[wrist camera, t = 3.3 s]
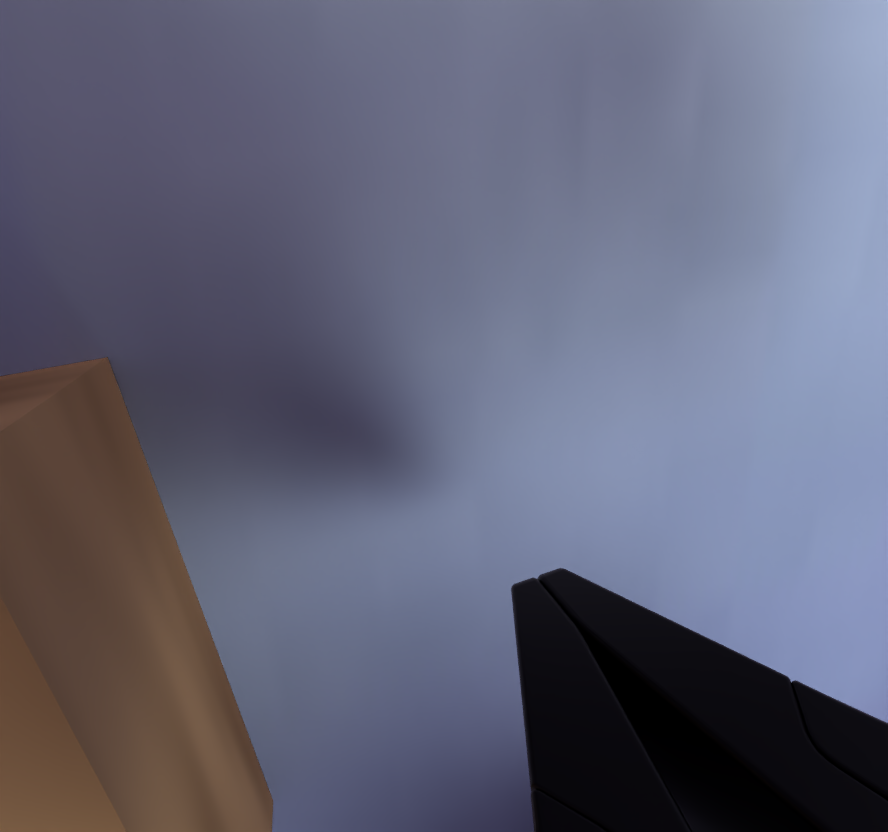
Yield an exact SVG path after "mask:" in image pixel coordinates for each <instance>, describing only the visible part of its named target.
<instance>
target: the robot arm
mask: <svg viewBox="0 0 888 832" xmlns="http://www.w3.org/2000/svg"><path fill="white" fill-rule="evenodd" d="M511 592H512V602H513V613H514V623H515V633H516V644H517V654H518V664H519V675H520V685H521V695H522V705H523V716H524V726H525V736H526V747H527V757H528V767H529V778H530V787H531V802H532V812H533V823H534V832H888V723H886V722H884V721H882V720H879V719H877V718H875V717H873V716H871V715H869V714H866V713H864V712H862V711H860V710H858V709H855V708H853V707H851V706H849V705H847V704H845V703H842V702H840V701H838V700H836V699H834V698H832V697H829V696H827V695H825V694H823V693H821V692H819V691H817V690H815V689H813V688H811V687H809V686H807V685H804V684H802V683H800V682H798V681H792V683H791V681H790V679H789V678H788V677H787V676H785V675H783V674H781V673H779V672H777V671H775V670H773V669H771V668H769V667H767V666H765V665H763V664H760V663H758V662H756V661H754V660H752V659H750V658H748V657H746V656H744V655H742V654H740V653H738V652H736V651H734V650H731V649H729V648H727V647H725V646H723V645H721V644H719V643H717V642H715V641H713V640H711V639H709V638H707V637H705V636H703V635H700V634H698V633H696V632H694V631H692V630H690V629H688V628H686V627H684V626H682V625H680V624H678V623H676V622H674V621H671V620H669V619H667V618H665V617H663V616H661V615H659V614H657V613H655V612H653V611H651V610H649V609H647V608H645V607H642V606H640V605H638V604H636V603H634V602H632V601H630V600H628V599H626V598H624V597H622V596H620V595H618V594H616V593H613V592H611V591H609V590H607V589H605V588H603V587H601V586H599V585H597V584H595V583H593V582H591V581H589V580H587V579H584V578H582V577H580V576H578V575H576V574H574V573H572V572H570V571H568V570H566V569H562V568H559V569H556V570H553V571H550V572H547V573H544V574H541V575H540V576H539V577H538V579H536V578H530V579H527V580H525V581H522V582H519V583H516V584H514V585H513V586H512V588H511Z"/></svg>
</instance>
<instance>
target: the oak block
mask: <svg viewBox="0 0 888 832" xmlns="http://www.w3.org/2000/svg"><path fill="white" fill-rule="evenodd" d="M272 816H273V799H272V797H271V794H270V791H269V789H268V786H267V783H266V781H265V778H264V775H263V772H262V770H261V767H260V764H259V762H258V759H257V756H256V754H255V751H254V748H253V746H252V743H251V740H250V738H249V735H248V732H247V730H246V727H245V724H244V722H243V719H242V716H241V714H240V711H239V708H238V705H237V703H236V700H235V697H234V695H233V692H232V689H231V687H230V684H229V681H228V679H227V676H226V673H225V671H224V668H223V665H222V663H221V660H220V657H219V655H218V652H217V649H216V647H215V644H214V641H213V638H212V636H211V633H210V630H209V628H208V625H207V622H206V620H205V617H204V614H203V612H202V609H201V606H200V604H199V601H198V598H197V596H196V593H195V590H194V588H193V585H192V582H191V580H190V577H189V574H188V571H187V569H186V566H185V563H184V561H183V558H182V555H181V553H180V550H179V547H178V545H177V542H176V539H175V537H174V534H173V531H172V529H171V526H170V523H169V521H168V518H167V515H166V513H165V510H164V507H163V504H162V502H161V499H160V496H159V494H158V491H157V488H156V486H155V483H154V480H153V478H152V475H151V472H150V470H149V467H148V464H147V462H146V459H145V456H144V454H143V451H142V448H141V446H140V443H139V440H138V437H137V435H136V432H135V429H134V427H133V424H132V421H131V419H130V416H129V413H128V411H127V408H126V405H125V403H124V400H123V397H122V395H121V392H120V389H119V387H118V384H117V381H116V379H115V376H114V373H113V370H112V368H111V365H110V362H109V360H108V357H106V358H101V359H95V360H89V361H84V362H78V363H73V364H67V365H61V366H56V367H50V368H45V369H39V370H33V371H28V372H22V373H17V374H11V375H5V376H0V832H272Z"/></svg>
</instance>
